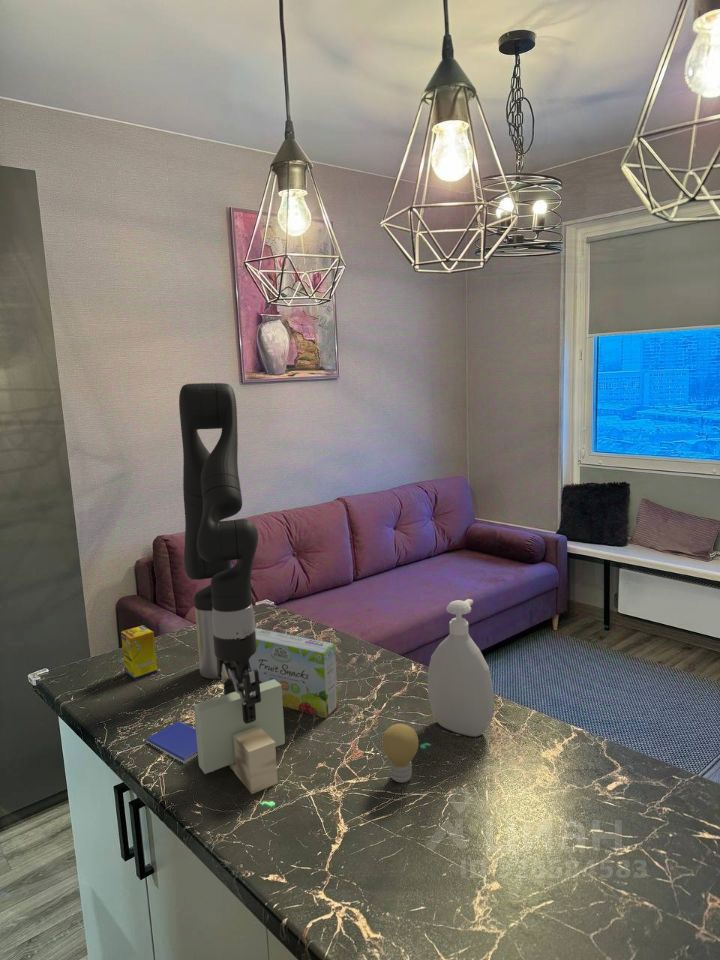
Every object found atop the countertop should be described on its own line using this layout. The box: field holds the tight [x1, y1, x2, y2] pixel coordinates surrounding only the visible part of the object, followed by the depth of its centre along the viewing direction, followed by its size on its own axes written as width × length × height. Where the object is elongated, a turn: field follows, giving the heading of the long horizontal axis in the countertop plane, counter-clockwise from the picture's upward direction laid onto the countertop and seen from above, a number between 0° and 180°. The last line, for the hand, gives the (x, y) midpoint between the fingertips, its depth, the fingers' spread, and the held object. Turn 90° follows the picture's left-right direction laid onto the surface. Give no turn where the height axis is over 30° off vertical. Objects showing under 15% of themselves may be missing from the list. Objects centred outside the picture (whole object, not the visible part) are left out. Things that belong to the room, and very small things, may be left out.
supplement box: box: [120, 624, 158, 681], centre depth 160 cm, size 6×6×11 cm
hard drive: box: [145, 721, 198, 765], centre depth 130 cm, size 2×8×12 cm
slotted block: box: [228, 726, 278, 795], centre depth 121 cm, size 18×5×8 cm, turn 34°
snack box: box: [249, 627, 339, 718], centre depth 143 cm, size 21×6×15 cm, turn 62°
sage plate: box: [193, 679, 286, 775], centre depth 121 cm, size 3×16×12 cm, turn 124°
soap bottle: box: [427, 598, 495, 737], centre depth 130 cm, size 14×8×27 cm, turn 53°
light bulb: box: [381, 723, 419, 784], centre depth 115 cm, size 6×6×10 cm
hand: (240, 711), depth 120 cm, fingers open, 8 cm apart
